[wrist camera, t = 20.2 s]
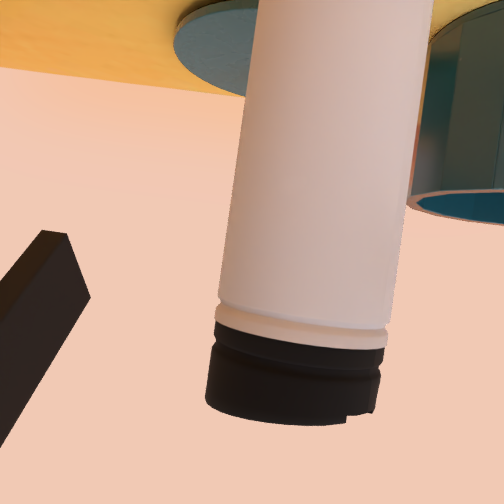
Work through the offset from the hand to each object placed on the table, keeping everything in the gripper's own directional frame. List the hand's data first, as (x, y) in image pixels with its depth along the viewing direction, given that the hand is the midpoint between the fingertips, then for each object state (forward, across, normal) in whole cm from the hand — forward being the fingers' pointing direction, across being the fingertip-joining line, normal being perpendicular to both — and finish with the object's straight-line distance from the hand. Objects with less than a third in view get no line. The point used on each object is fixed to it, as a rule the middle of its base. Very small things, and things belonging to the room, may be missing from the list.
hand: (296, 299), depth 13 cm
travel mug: (+14, 0, +8) cm, 16 cm away
